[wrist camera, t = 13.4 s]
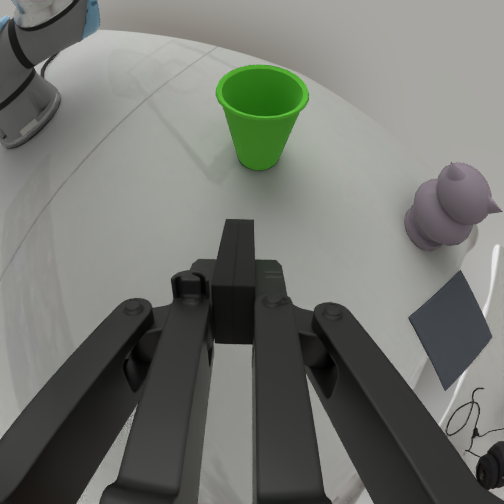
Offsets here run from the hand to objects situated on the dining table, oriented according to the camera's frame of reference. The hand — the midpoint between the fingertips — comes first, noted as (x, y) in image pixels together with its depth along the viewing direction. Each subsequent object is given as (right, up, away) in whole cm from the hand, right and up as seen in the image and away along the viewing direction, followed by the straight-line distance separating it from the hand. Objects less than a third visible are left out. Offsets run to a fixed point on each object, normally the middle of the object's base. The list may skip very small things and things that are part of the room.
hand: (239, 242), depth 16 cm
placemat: (+26, -10, +12) cm, 30 cm away
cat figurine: (+23, +3, +16) cm, 28 cm away
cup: (+2, +12, +19) cm, 22 cm away
